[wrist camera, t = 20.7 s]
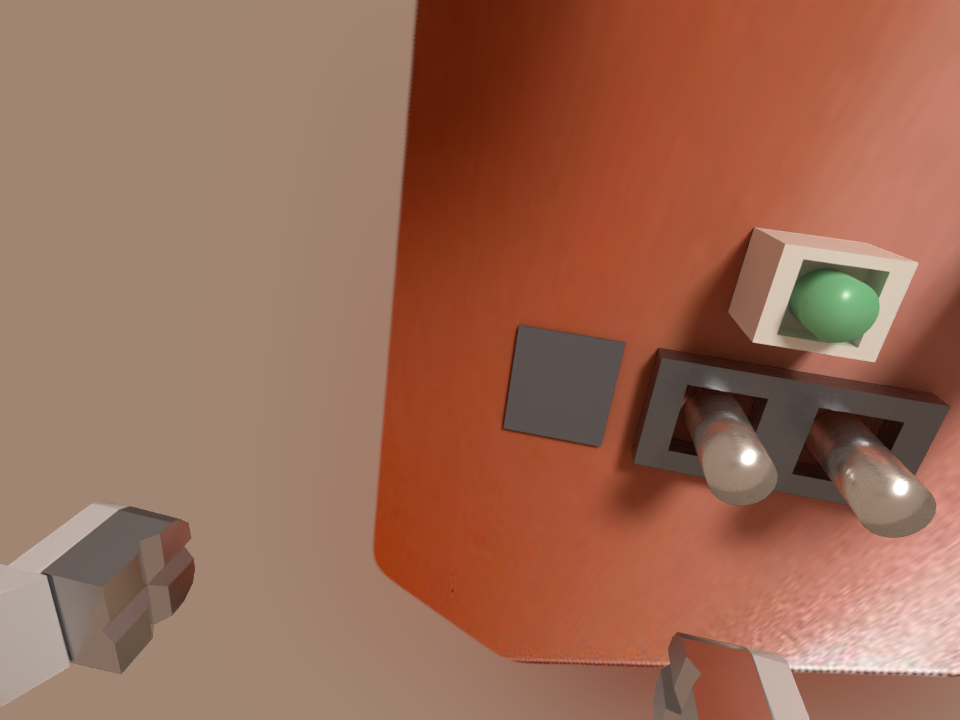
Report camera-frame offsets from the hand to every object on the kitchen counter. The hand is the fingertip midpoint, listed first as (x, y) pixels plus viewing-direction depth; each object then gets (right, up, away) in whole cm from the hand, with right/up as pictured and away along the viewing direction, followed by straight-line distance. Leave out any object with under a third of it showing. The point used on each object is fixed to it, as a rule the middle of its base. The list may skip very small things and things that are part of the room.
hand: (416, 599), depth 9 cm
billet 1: (+19, 0, +33) cm, 38 cm away
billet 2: (+28, -2, +32) cm, 42 cm away
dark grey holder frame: (+23, -1, +32) cm, 40 cm away
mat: (+7, +2, +34) cm, 35 cm away
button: (+22, +8, +24) cm, 33 cm away
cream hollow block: (+22, +9, +28) cm, 37 cm away
